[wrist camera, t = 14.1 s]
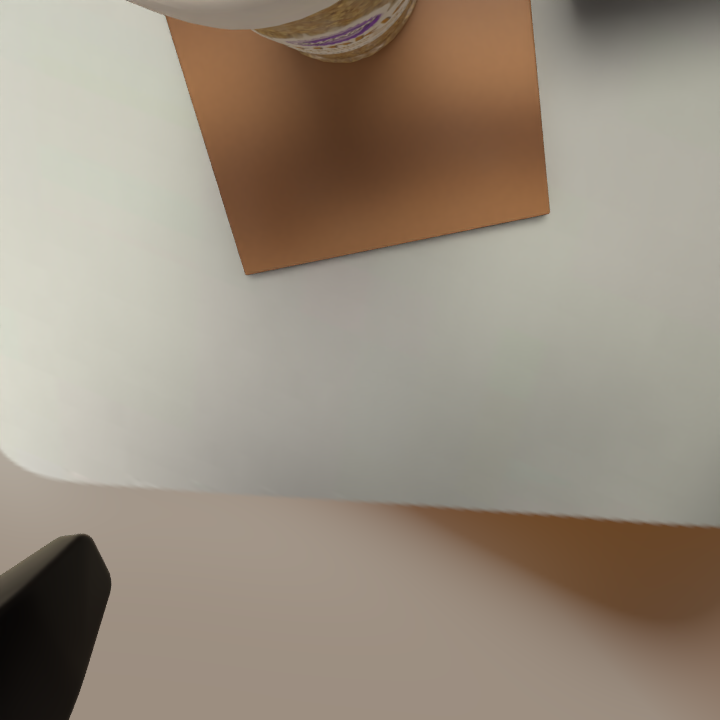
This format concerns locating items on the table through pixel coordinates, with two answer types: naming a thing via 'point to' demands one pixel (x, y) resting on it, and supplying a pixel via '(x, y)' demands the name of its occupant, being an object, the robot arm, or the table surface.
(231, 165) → the brown wooden board
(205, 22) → the sprinkles bottle
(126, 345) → the table surface
